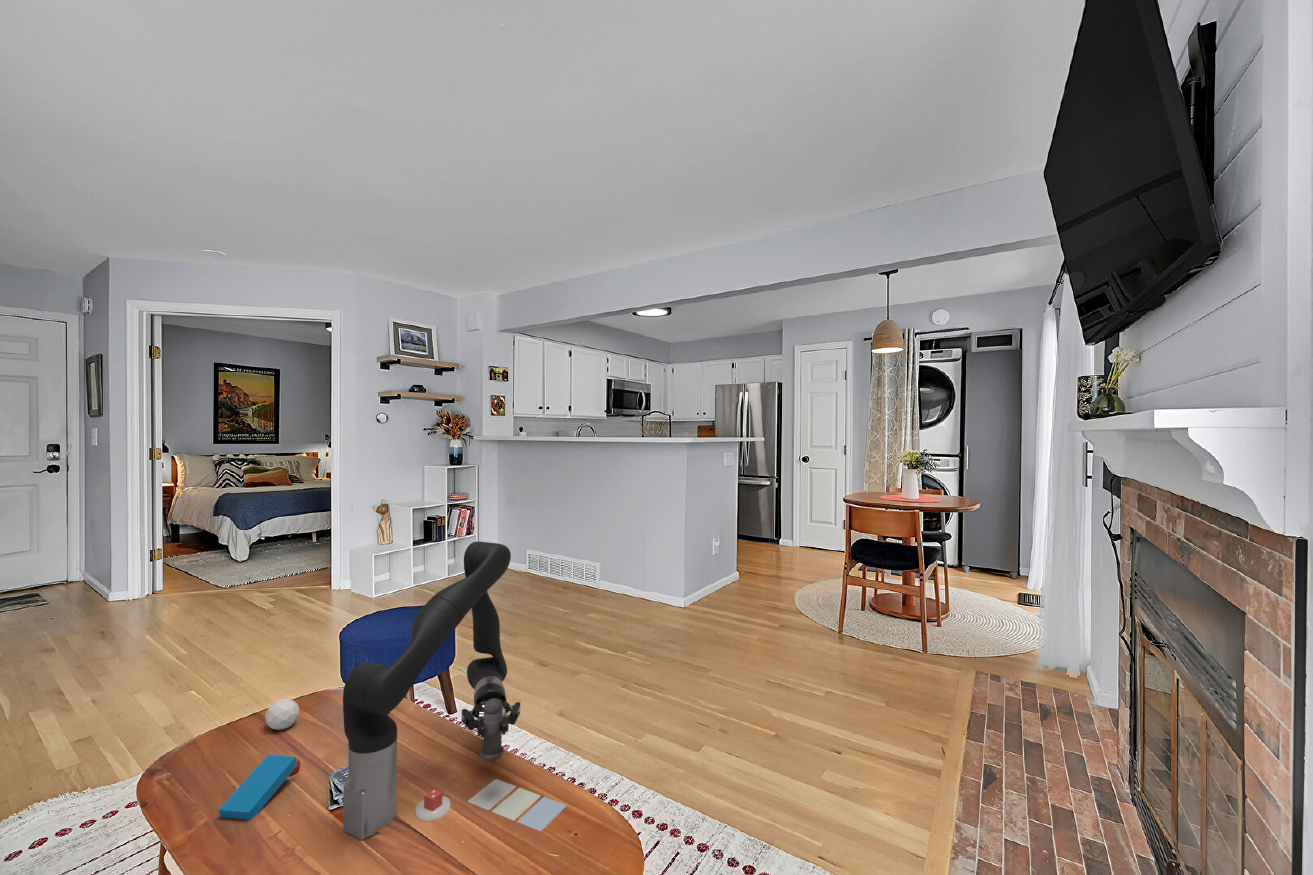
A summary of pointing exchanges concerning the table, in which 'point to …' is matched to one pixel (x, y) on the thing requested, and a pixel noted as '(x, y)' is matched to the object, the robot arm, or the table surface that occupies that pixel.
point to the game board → (517, 804)
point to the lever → (259, 787)
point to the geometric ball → (282, 714)
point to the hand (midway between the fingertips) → (493, 731)
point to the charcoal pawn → (492, 731)
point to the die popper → (433, 806)
